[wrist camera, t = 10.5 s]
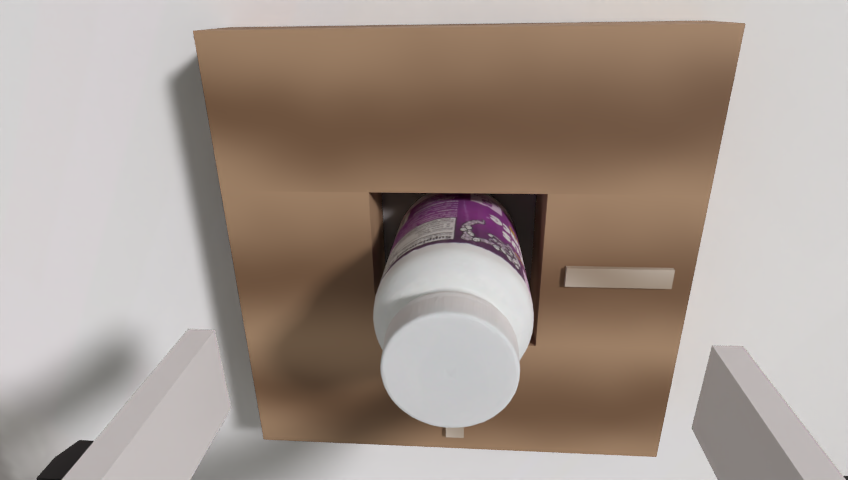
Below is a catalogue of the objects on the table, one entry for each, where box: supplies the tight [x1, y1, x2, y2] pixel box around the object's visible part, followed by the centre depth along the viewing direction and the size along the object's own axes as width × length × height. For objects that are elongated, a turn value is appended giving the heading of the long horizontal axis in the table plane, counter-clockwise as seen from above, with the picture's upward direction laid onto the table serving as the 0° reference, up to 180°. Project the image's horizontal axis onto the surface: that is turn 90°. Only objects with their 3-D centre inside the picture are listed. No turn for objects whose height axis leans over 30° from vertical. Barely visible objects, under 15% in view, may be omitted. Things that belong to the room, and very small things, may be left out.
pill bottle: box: [373, 193, 534, 428], centre depth 20 cm, size 5×5×10 cm
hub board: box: [193, 21, 745, 457], centre depth 23 cm, size 18×18×3 cm
